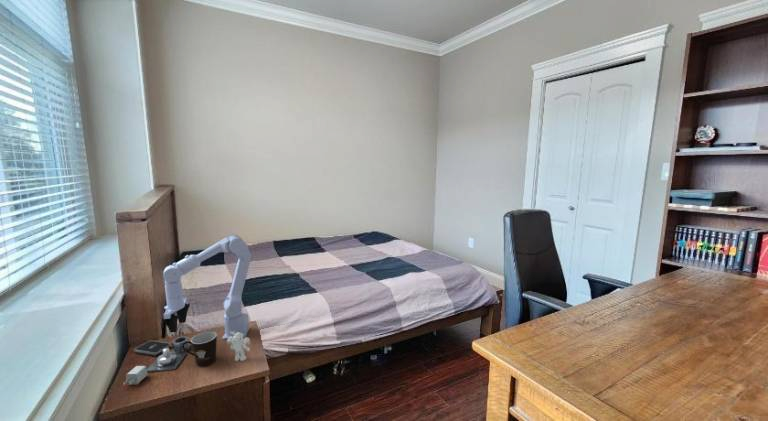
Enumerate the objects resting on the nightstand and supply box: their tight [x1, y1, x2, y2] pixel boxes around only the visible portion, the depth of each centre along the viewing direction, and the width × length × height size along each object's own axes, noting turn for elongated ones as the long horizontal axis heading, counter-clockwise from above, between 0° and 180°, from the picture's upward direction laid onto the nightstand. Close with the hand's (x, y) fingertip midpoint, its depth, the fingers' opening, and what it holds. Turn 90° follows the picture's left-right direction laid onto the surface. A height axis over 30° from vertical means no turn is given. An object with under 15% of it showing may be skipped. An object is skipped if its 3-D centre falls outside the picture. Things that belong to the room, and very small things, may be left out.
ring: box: [171, 335, 191, 353], centre depth 131 cm, size 6×6×4 cm
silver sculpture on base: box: [147, 348, 188, 373], centre depth 122 cm, size 10×10×6 cm
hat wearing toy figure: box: [226, 331, 251, 362], centre depth 124 cm, size 9×4×12 cm, turn 81°
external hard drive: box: [134, 340, 172, 358], centre depth 131 cm, size 7×11×2 cm, turn 77°
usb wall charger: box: [122, 365, 148, 386], centre depth 111 cm, size 4×7×4 cm, turn 1°
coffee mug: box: [182, 331, 218, 368], centre depth 123 cm, size 12×9×10 cm
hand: (178, 327), depth 130 cm, fingers open, 7 cm apart
